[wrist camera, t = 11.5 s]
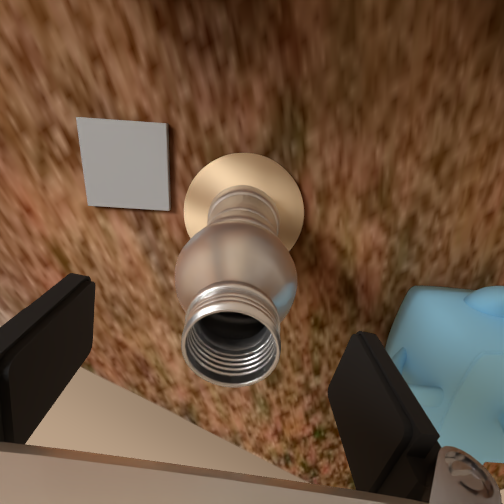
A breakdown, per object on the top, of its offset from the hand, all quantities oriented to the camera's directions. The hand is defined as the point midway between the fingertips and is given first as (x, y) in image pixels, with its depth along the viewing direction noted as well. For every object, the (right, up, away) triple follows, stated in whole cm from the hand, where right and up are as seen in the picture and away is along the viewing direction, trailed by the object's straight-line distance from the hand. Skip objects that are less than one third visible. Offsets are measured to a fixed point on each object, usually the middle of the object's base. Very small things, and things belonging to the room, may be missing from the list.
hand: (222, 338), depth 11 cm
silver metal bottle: (0, +7, +19) cm, 20 cm away
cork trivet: (0, +7, +20) cm, 21 cm away
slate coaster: (-11, +11, +18) cm, 24 cm away
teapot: (+23, -5, +24) cm, 34 cm away
